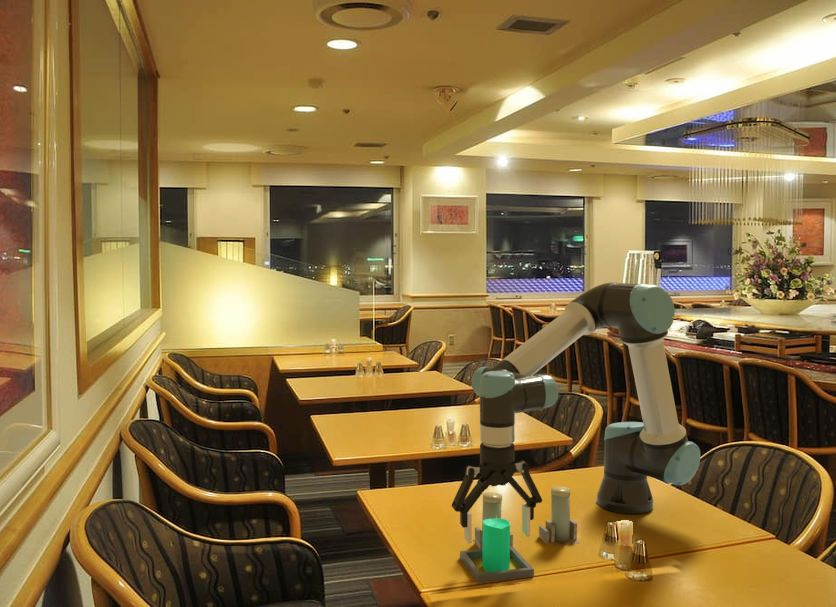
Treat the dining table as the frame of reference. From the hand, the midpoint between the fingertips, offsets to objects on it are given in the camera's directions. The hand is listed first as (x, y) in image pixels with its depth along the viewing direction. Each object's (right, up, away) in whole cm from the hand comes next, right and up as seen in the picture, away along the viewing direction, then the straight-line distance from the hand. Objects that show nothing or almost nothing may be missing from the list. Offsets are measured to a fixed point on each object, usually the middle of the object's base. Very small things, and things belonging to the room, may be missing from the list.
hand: (497, 537), depth 159 cm
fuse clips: (+9, -7, +13) cm, 17 cm away
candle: (0, -7, 0) cm, 7 cm away
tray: (0, -8, 0) cm, 8 cm away
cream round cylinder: (+17, -5, +17) cm, 25 cm away
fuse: (0, -6, +12) cm, 13 cm away
